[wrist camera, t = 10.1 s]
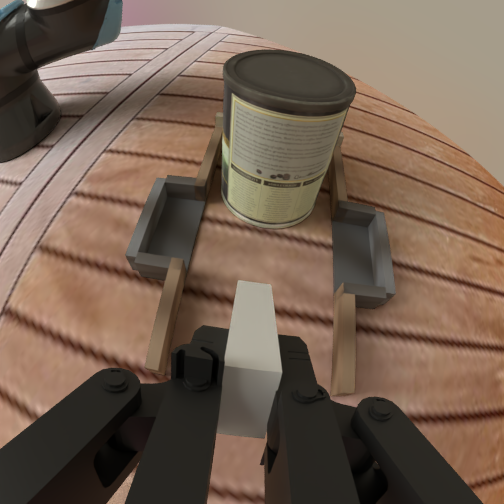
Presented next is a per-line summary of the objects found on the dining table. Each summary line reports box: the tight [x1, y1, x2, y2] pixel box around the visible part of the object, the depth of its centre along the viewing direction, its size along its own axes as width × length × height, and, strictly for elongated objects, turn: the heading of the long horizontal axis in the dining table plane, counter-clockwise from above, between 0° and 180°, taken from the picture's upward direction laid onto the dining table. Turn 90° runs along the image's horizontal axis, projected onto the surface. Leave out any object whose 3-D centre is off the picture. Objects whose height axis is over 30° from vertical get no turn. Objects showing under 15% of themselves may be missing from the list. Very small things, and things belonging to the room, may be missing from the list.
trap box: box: [125, 112, 396, 396], centre depth 27 cm, size 28×23×4 cm
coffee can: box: [221, 50, 356, 229], centre depth 25 cm, size 10×10×14 cm
